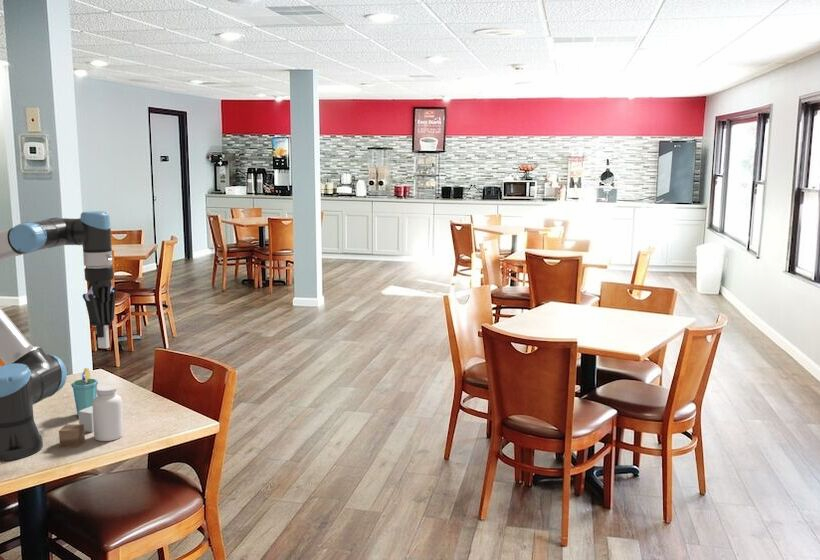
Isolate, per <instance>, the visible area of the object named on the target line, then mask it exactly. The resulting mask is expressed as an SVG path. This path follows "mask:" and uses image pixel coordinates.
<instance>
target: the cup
mask: <svg viewBox="0 0 820 560" xmlns="http://www.w3.org/2000/svg"><path fill="white" fill-rule="evenodd" d="M81 377H82V379H77V380H75V381H73V382H72V383H71V384H70V385H71V387H72V390H73V391H72V392H73V397H74V402H75V407H76V414H77V416H78V417H79V413H78V411H80V410H83V409H85V408H88V407H90V406H93V404H92V403H93V400H94V398H95V397H97V388H98V384H99V381H98V380H97V379H94V378H91V372H90V369H89V368H87V367H86V368H84V369H83V371H82V375H81Z"/></svg>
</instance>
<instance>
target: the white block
mask: <svg viewBox="0 0 820 560" xmlns="http://www.w3.org/2000/svg"><path fill="white" fill-rule="evenodd" d="M78 413H79V416H78V423H79V424H84V432H87V433H92V434H94V423H93V406H90V407H88V408H85V409H83V410H80V411H78Z"/></svg>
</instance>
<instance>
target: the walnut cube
mask: <svg viewBox="0 0 820 560" xmlns="http://www.w3.org/2000/svg"><path fill="white" fill-rule="evenodd" d="M58 436H59V437H58V439H59V448H80V446H81V445H82V444H83V443H84V442H85V441H86V439H85V436H86V435H85V431H84V424H77V423H75V424H73V423H72V424H71V423H70V424H65V425H64V426H62V427H61V428H60V429H59V430H58Z"/></svg>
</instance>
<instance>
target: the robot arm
mask: <svg viewBox="0 0 820 560" xmlns="http://www.w3.org/2000/svg"><path fill="white" fill-rule="evenodd" d="M111 229H112V226H111V218H110V214H109V213H108V212H107V211H101V210H99V211H98V210H96V211H93V210H92V211H91V210H90V211H83V212H81V213H80V216H79V218H66V217H65V218H63V217H62V218H60V217H49V218H44V219H42V220H40V221H39V220H38V221H27V222H22V223H19V224H17V225H14V226H13V227H9V228H6V229H3V230H0V262H1V261H5V260H8V259H11V258H15V257H19V256H21V255H25V254H30V253H33V252H37V251H41V250H45V249H52V248H56V247H61V246H82V255H83V256H82V258H83V265H84V269H83V270H84V280H85V281H86V282H88V287H87V288H88V291H87V293H84V294H82V298H83V300H84V302H85V306H86V310H87V314H88V318H89V323H90V325H91V326H93V327H95V328H96V337H97V348H98V349H110V346H111V344H110V325H112V324H113V321H114V320H115V318H114V317H115V308H116V307H115V304H116V295H117V293H118V287H117V286H113V285H112V282H111V281H112V280H114V266H112V265H113V263H114V262H113V249H112V233H111V231H112V230H111ZM0 360H1V361H2V362H3V363H4V365H0V462H3V461H5V462H6V461H12V460H13V461H14V460H17V459H22V458H25V457H29V456H32V455H34V454H35V453H37V452H39V451H40V450H41V449H43V447H44V443H43V442H44V441H43V437H42V435H41V434H40V432H39V430H38V426H37V425H36V422H35V418H34V405H35V404H37V403H39V402H41V401H43V400H45V399H47V398H50V397H52V396H54V395H55V394H56V393H57V392H59V391H61V390H62V388H63V387H64V386H65V384H66V381H67V375H68V372H67V367H66V365H65V363H64V361H63V360H62V359H61V358H59V357H58V356H57V355H52V354H47V353H45V351H44V350H43V348H42V347H40V346H38V345H37V346H36V345H35V346H34V345H32V344H31V342H29V340H28V339H27V338H26V337H25V336H24V334H23V333H22V332H21V331H20V329H19V328H18V327H17V326H16V325H15V323H14V322H13V321H12V319H11V318H10V317H9V316H8V315H7V313H6V312H5V311H4V310H3V308H2V307H1V306H0Z"/></svg>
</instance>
